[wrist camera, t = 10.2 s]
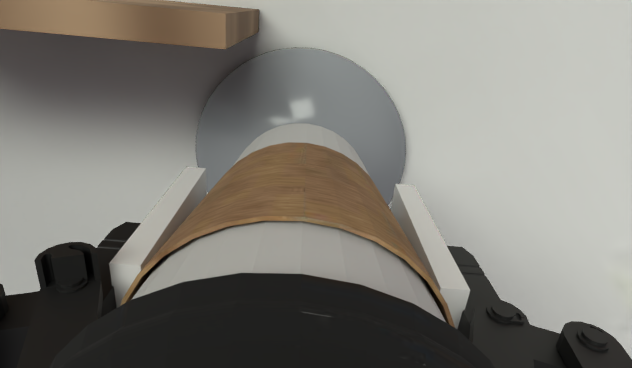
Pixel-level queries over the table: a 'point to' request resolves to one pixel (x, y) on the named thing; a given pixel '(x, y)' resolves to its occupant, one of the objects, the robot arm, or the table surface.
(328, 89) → the coaster
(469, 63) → the table surface
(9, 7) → the wooden c-shaped bracket
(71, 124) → the table surface
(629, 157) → the table surface
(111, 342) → the coffee cup
